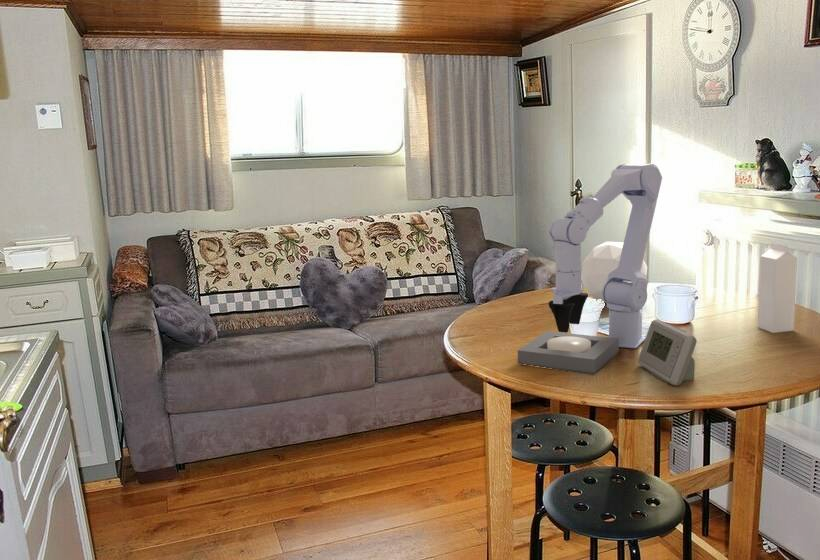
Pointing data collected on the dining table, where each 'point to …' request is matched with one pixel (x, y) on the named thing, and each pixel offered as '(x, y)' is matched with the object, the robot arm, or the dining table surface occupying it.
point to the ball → (602, 267)
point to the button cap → (569, 344)
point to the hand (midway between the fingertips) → (569, 327)
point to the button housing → (569, 354)
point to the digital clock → (668, 353)
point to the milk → (777, 289)
